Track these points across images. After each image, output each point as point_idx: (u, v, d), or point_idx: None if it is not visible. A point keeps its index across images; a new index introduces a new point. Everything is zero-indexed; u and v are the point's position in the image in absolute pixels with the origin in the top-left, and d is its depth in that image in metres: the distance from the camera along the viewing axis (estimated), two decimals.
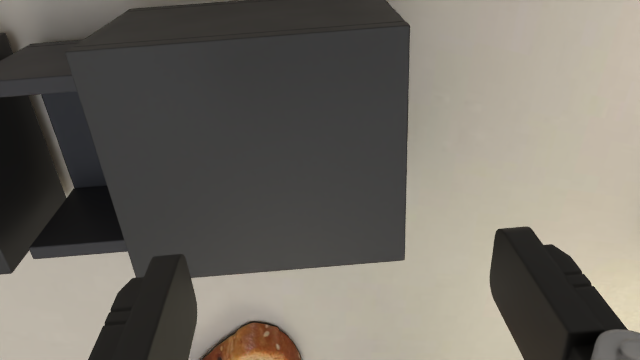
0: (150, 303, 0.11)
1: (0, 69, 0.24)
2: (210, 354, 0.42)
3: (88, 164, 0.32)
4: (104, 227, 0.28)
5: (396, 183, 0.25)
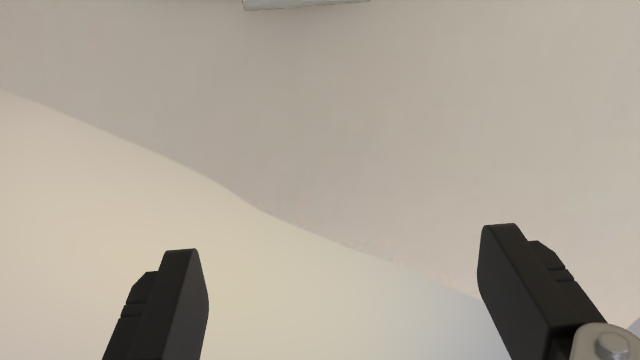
0: (165, 296, 0.11)
1: None
2: None
3: None
4: None
5: None
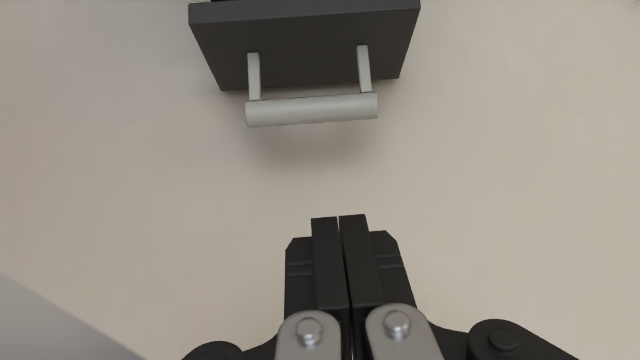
0: (329, 256, 0.12)
1: None
2: None
3: None
4: None
5: None
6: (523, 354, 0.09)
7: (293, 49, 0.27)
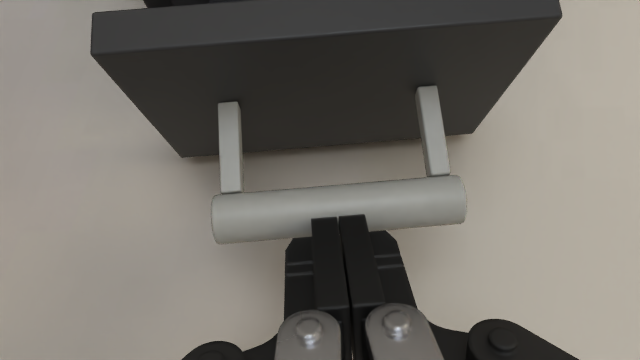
0: (329, 256, 0.12)
1: None
2: None
3: None
4: None
5: None
6: (523, 354, 0.09)
7: (302, 95, 0.15)
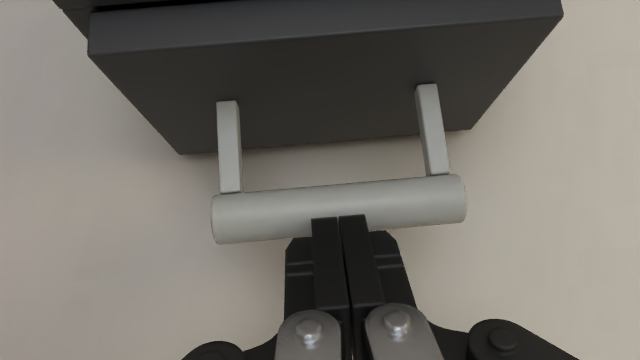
0: (329, 256, 0.12)
1: None
2: None
3: None
4: None
5: None
6: (523, 354, 0.09)
7: (301, 94, 0.15)
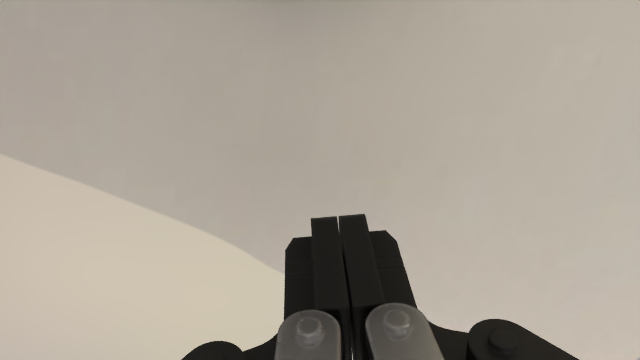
0: (329, 256, 0.12)
1: None
2: None
3: None
4: None
5: None
6: (523, 354, 0.09)
7: None
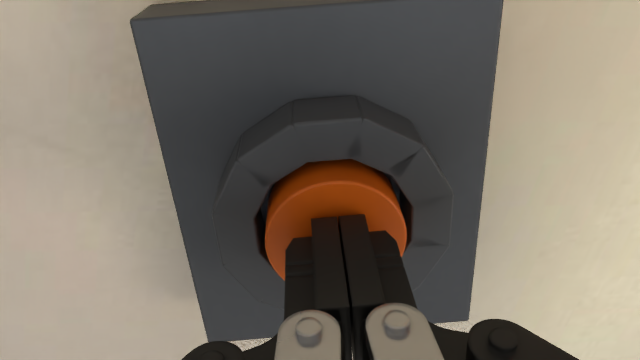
0: (329, 256, 0.12)
1: None
2: None
3: None
4: None
5: None
6: (523, 354, 0.09)
7: None
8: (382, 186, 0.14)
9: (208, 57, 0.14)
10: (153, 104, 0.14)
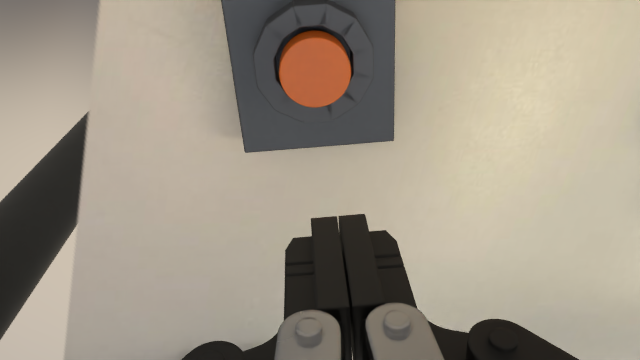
0: (329, 256, 0.12)
1: None
2: None
3: None
4: None
5: None
6: (523, 354, 0.09)
7: None
8: (338, 43, 0.27)
9: None
10: (223, 2, 0.28)
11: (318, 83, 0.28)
